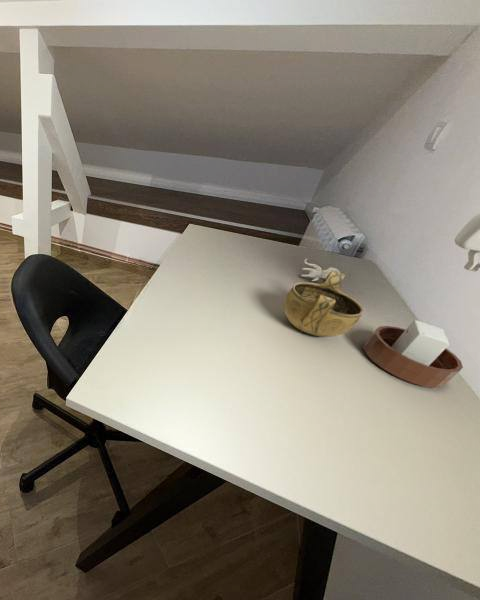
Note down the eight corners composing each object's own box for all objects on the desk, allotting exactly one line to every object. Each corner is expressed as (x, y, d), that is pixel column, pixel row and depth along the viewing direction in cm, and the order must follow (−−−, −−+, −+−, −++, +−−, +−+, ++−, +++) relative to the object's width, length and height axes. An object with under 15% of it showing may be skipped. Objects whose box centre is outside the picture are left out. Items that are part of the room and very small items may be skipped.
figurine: (305, 256, 116) (346, 260, 110) (302, 261, 124) (340, 264, 118) (301, 278, 116) (341, 283, 110) (298, 281, 124) (336, 285, 118)
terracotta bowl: (424, 355, 85) (440, 338, 82) (458, 399, 72) (479, 381, 69) (354, 335, 90) (366, 319, 86) (374, 373, 77) (389, 356, 73)
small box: (418, 376, 77) (451, 344, 71) (390, 365, 79) (419, 333, 73) (414, 359, 82) (443, 328, 76) (387, 349, 85) (414, 318, 79)
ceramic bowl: (284, 301, 102) (307, 260, 94) (345, 325, 94) (376, 283, 85) (266, 330, 88) (291, 285, 80) (336, 362, 79) (372, 315, 71)
